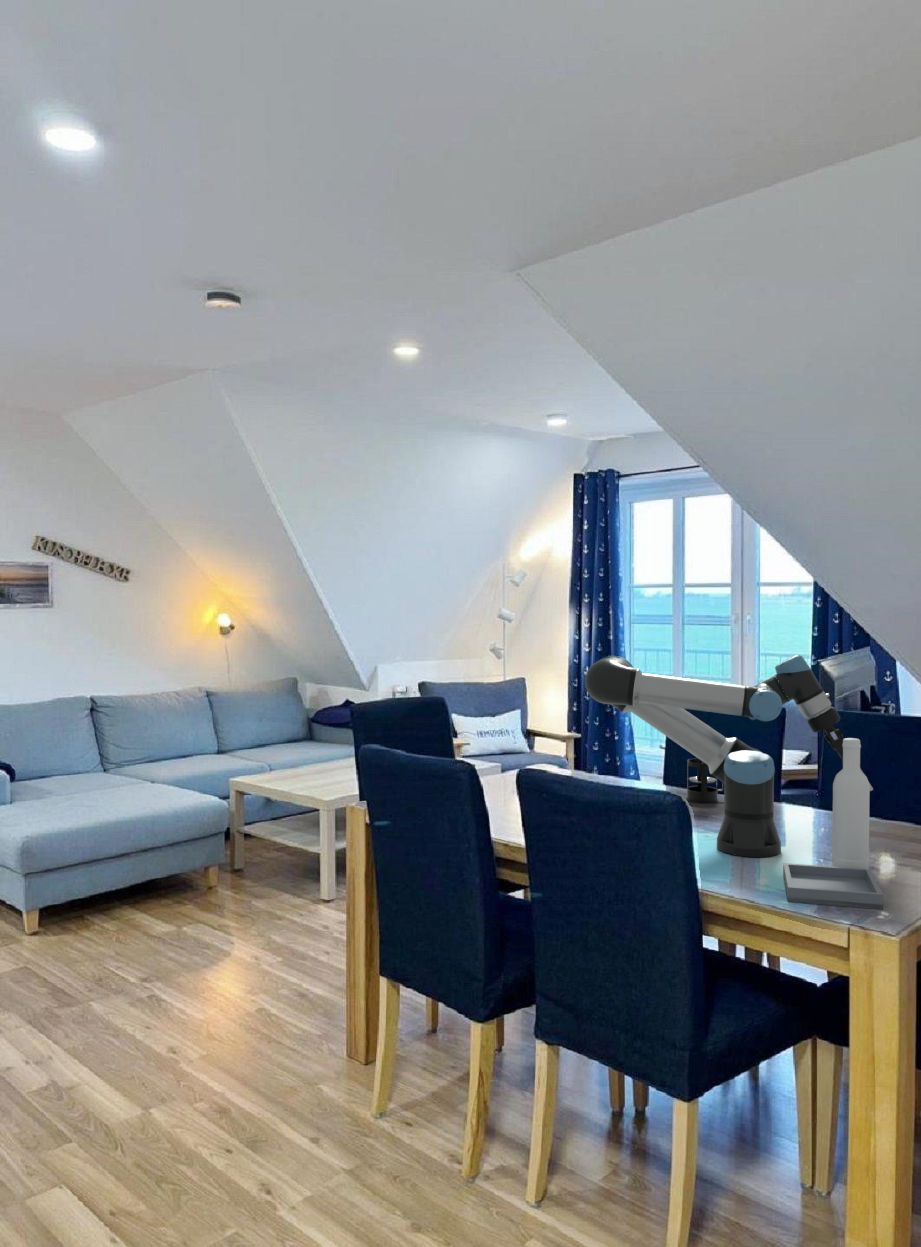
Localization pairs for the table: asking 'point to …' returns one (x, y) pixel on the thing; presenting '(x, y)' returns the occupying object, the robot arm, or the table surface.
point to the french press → (701, 784)
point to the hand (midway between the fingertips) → (864, 787)
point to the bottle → (851, 811)
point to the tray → (832, 886)
